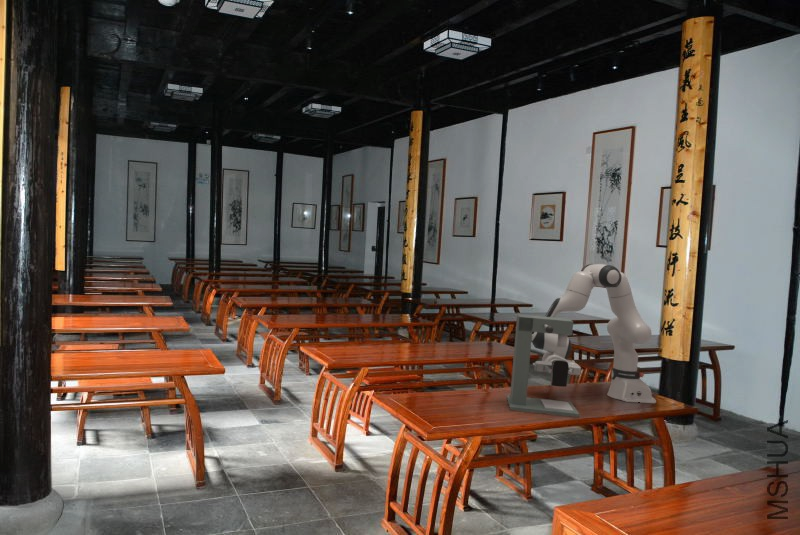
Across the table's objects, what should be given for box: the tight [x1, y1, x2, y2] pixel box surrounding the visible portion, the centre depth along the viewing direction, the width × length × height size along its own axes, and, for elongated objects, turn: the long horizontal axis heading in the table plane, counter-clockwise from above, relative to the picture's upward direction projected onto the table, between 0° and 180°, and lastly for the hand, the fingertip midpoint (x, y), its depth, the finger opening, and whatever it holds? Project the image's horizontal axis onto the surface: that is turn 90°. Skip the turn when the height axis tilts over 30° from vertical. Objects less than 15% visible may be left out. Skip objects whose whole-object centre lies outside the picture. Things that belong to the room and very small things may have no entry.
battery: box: [550, 360, 569, 388], centre depth 260 cm, size 7×4×11 cm, turn 90°
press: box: [506, 313, 580, 418], centre depth 257 cm, size 29×28×40 cm
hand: (559, 371), depth 259 cm, fingers closed on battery, 7 cm apart
